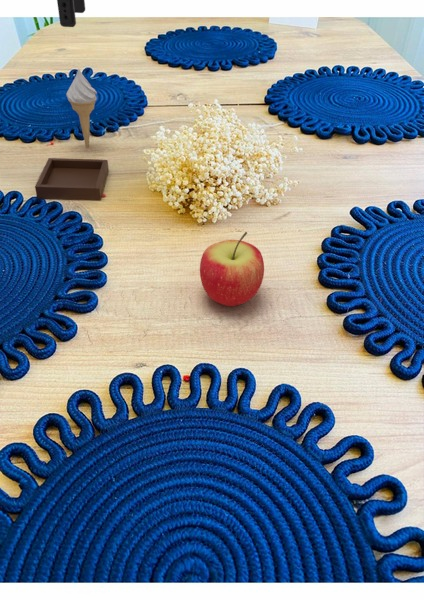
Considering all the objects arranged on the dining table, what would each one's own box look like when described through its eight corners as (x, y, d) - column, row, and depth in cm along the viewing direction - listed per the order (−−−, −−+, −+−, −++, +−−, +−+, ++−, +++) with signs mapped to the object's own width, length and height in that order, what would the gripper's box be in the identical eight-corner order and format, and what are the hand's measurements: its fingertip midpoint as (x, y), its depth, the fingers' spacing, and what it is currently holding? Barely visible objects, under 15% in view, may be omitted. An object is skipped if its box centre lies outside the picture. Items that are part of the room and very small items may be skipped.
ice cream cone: (71, 143, 106) (60, 64, 96) (99, 140, 107) (91, 62, 98) (76, 155, 102) (65, 74, 92) (105, 151, 104) (97, 72, 94)
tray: (37, 198, 89) (34, 186, 88) (50, 169, 97) (48, 157, 96) (100, 200, 90) (99, 188, 88) (108, 171, 98) (107, 159, 96)
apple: (273, 305, 71) (282, 243, 64) (218, 325, 67) (222, 262, 61) (239, 271, 76) (245, 211, 69) (187, 289, 73) (188, 227, 66)
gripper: (41, -119, 76) (58, 7, 87) (15, -113, 65) (38, 30, 76) (94, -116, 77) (104, 9, 87) (77, -110, 66) (91, 32, 76)
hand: (73, 19), depth 82 cm, fingers open, 8 cm apart
